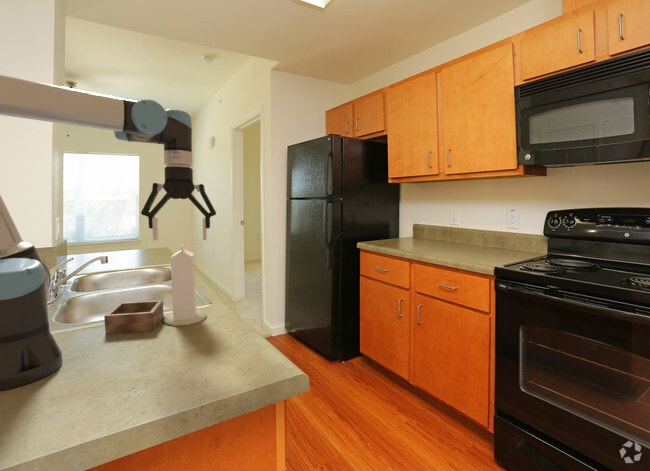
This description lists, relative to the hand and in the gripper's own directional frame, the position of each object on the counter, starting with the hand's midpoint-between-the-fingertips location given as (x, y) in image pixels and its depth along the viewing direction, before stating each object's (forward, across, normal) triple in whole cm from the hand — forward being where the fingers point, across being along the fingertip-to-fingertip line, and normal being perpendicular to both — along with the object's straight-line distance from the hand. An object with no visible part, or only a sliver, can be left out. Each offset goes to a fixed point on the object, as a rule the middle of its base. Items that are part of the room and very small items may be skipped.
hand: (180, 239), depth 103 cm
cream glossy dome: (+24, +1, 0) cm, 24 cm away
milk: (+24, +1, 0) cm, 24 cm away
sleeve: (+24, -12, -2) cm, 27 cm away
